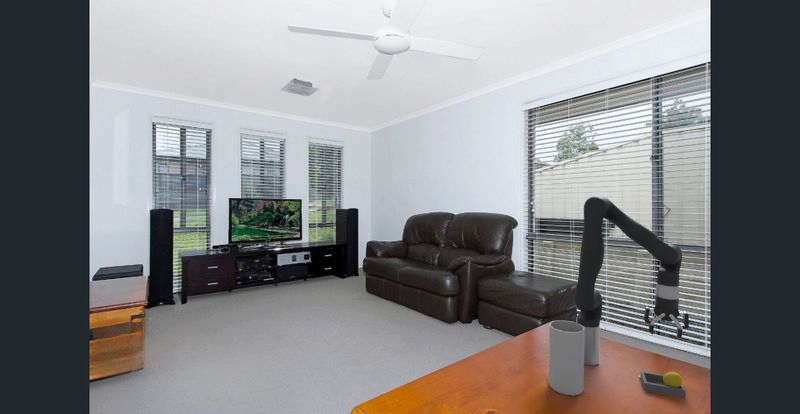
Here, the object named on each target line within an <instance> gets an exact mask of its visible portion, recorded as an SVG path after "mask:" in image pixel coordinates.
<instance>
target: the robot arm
mask: <svg viewBox="0 0 800 414" xmlns="http://www.w3.org/2000/svg"><path fill="white" fill-rule="evenodd" d="M604 219H605V220H607V221H609V222H610V223H612V224H613V225H614V226H616V227H617V228H618V229H619V230H620V231H621V232H622V233H624V234H625V235H626V236H627V238H629V239H630V240H632V241H633V242H634V243H636V244H637V245H639V246H640V247H642V248H643V249H645V250H646V251H647V252H648V253H649V254H650V255H651V256H653V257H654V258H655V259H656V260H657V261H659V262H660V263H659V264H660V265H659V269H658V270H657V275H656V276H657V277H656V286H655V293H654V294H655V296H654V297H655V298H654V300H655V301H654V308H651V307H649V306H645V308H644V314H643V321H644V322H645V323H646V324H648V332H649V333H650V334H651V335H654V332H655V330H654V329H655V326H654V325H655V324H656V323H658V322H659V321H661V322H668V323H672V322H674V324H675V325H676V326H677V327H676V338H677V339H681V338H682V337H683V330H684V329H686V330H688V329H689V328H690V322H689V321H690V320H689V318H690V316H689V313H688V312H687V311H679V307H680V304H679V303H680V270H681V267H682V259H683V252H682V249H681V248H680V247H679V246H678V245H676V244H672V243H670V244H669V243H668V244H667V243H666V242H664V241H663V240H662V239H660V238H659V236H658V235H657V233H656V232H653V231H652V230H650V228H647V227H646V226H644V225H643V224H641V223H639V222H638V221H636V220H635V219H633V218H632V217H630V216H629V215H627V214H626V213H625V212H623V211H622V210H621V209H620V208H618V206H616V205H615V203H613V202H612V201H611V200H609V198H608V197H605V196H603V195H597V196H596V195H595V196H591V197H589V198H587V199H586V201H585V202H584V204H583V232H582V236H581V237H582V239H581V247H580V254H579V255H580V256H579V265H578V267H579V268H578V276H577V277H578V278H577V282H576V287H575V293H574V296H573V297H574V298H573V302H574V304H575V306H576V308H577V309H578V310H579V313H578V315H577V317H576V323H578V324H580V325H582V326H583V327H584V366H585V365H586V366H598V365H599V364H600V328H601V327H600V325H601V324H600V323H601V320H602V317H603V316H602V315H603V297H602V294H601V293H600V291H599V290H597V289H596V288H595V286H596V281H597V278H598V276H599V274H600V272H601V269H602V267H603V264H604V259H605V241H604V237H603V232H602V231H603V222H604ZM652 313H654V315H653V316H652V318H650V314H652ZM679 316H681V318H682V319H683V321H682V322H683V323H680V322H679V321H678V319H677V318H679ZM649 318H650V319H649Z"/></svg>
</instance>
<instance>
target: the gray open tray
mask: <svg viewBox="0 0 800 414" xmlns="http://www.w3.org/2000/svg"><path fill="white" fill-rule="evenodd" d="M664 375H665V374H661V373H660V374H659V373H653V372H647V371H640V375H639V376H640V377H639V378H640V381H641V385H642V388H643V391H645V392H651V393H657V394H662V395H667V396H671V397H677V398H682V399H686V388H685V387H684V385H683V383H682V384H681V386H680V387H678V388H676V387H671V386H666V385H665V384H664V382H663V377H664Z"/></svg>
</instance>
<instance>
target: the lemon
mask: <svg viewBox="0 0 800 414" xmlns="http://www.w3.org/2000/svg"><path fill="white" fill-rule="evenodd" d="M663 375H664V377H663V382H664V384H665V385H666V386H671V387H676V388H678V387H680V386H681V384H683V378H682V376H681V375H680V374H679V373H677V372H675V371H668V372H666V373H665V374H663Z"/></svg>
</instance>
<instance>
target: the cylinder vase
mask: <svg viewBox="0 0 800 414" xmlns="http://www.w3.org/2000/svg"><path fill="white" fill-rule="evenodd" d="M548 331H549V335H548V336H549V339H548V340H549V344H548V346H549V349H548V350H549V351H548V352H549V353H548V359H549V360H548V361H549V363H548V384H549V386H550V388H551V389H552V390H553V391H554V392H557V393H559V394H562V395H565V396H570V395H571V396H572V397H573V396H579V395H581V394H582V393H583V392H584V389H585V387H584V386H585V385H584V383H585V382H584V380H585V379H584V375H585V372H584V371H585V369H584V367H585V364H584V327H583V326H582V325H580V324H578V323H577V322H575V321H570V320H552V321H550V322H549V330H548Z"/></svg>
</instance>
